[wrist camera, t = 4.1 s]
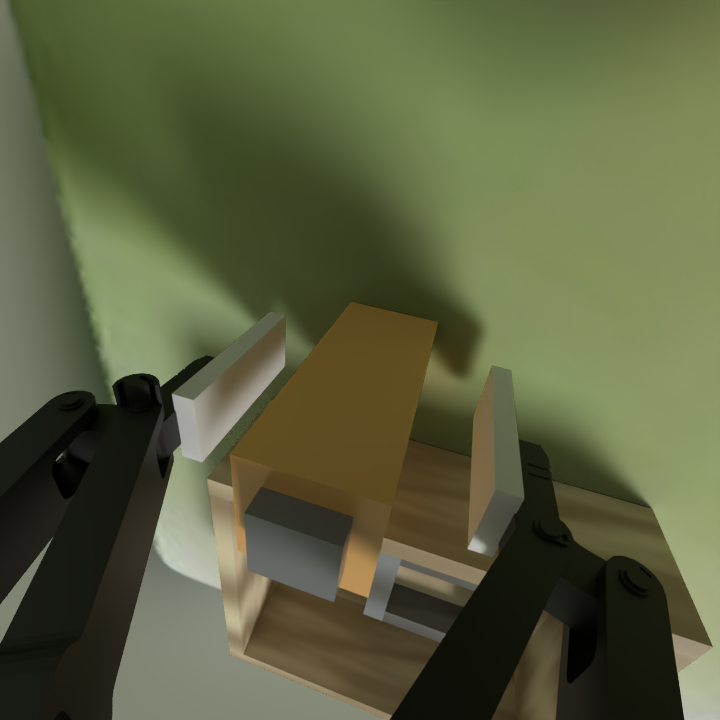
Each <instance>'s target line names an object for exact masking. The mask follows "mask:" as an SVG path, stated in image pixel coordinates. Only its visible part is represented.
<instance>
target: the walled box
mask: <svg viewBox="0 0 720 720" xmlns="http://www.w3.org/2000/svg"><path fill="white" fill-rule="evenodd" d="M272 401H273V400H270V401H269V402H268V403H267V405H266V406H265V407H264V408H263V410H262V411H261V412H260V413H259V415H258V416H257V417H256V418H255V420H254V421H253V422H252V423H251V424H250V426H249V427H248V428H247V429H246V431H245V432H244V433H243V434H242V436H241V437H240V438H239V439H238V441H237V442H236V443H235V444H234V446H233V447H232V448H231V449H230V451H229V452H228V453H227V454H226V456H225V457H224V458H223V459H222V461H221V462H220V463H219V464H218V466H217V467H216V468H215V469H214V470H213V472H212V473H211V474H210V475H209V477H208V478H207V483H208V491H209V498H210V506H211V513H212V520H213V528H214V535H215V543H216V550H217V558H218V565H219V573H220V580H221V587H222V595H223V602H224V610H225V617H226V625H227V632H228V639H229V647H230V654H231V656H234V657H236V658H238V659H241V660H243V661H246V662H248V663H250V664H253V665H255V666H258V667H260V668H263V669H265V670H267V671H270V672H272V673H275V674H277V675H280V676H282V677H284V678H287V679H289V680H292V681H294V682H296V683H299V684H301V685H304V686H306V687H308V688H311V689H313V690H316V691H318V692H321V693H323V694H325V695H328V696H330V697H333V698H335V699H337V700H340V701H342V702H345V703H347V704H350V705H352V706H354V707H357V708H359V709H362V710H364V711H366V712H369V713H371V714H374V715H376V716H378V717H381V718H383V719H386V720H390V718H391V717H392V715H393V714H394V712H395V711H396V709H397V708H398V706H399V705H400V703H401V702H402V700H403V699H404V697H405V696H406V694H407V692H408V691H409V689H410V688H411V686H412V685H413V683H414V682H415V680H416V679H417V677H418V676H419V674H420V673H421V671H422V670H423V668H424V667H425V665H426V664H427V662H428V661H429V659H430V658H431V656H432V655H433V653H434V652H435V650H436V649H437V647H438V646H439V644H440V643H441V641H442V639H443V638H444V636H445V635H446V633H447V632H448V630H449V629H450V627H451V626H452V624H453V623H454V621H455V620H456V618H457V617H458V615H459V614H460V612H461V611H462V609H463V608H464V606H465V605H466V603H467V602H468V600H469V599H470V597H471V596H472V594H473V593H474V591H475V590H476V588H477V586H478V585H479V583H480V582H481V580H482V579H483V577H484V576H485V574H486V573H487V571H488V570H489V568H490V567H491V565H492V564H493V562H494V561H495V559H496V558H497V556H498V555H499V547H498V549H497V550H496V552H495V554H494V556H493V557H491V556H487V555H484V554H481V553H478V552H475V551H472V550H469V549H468V527H469V505H470V483H471V461H472V457H469V456H465V455H462V454H458V453H455V452H451V451H448V450H444V449H441V448H437V447H434V446H430V445H427V444H423V443H420V442H416V441H413V440H409V441H408V445H407V449H406V453H405V457H404V461H403V465H402V469H401V473H400V477H399V481H398V485H397V489H396V493H395V497H394V501H393V505H392V509H391V512H390V516H389V520H388V524H387V528H386V532H385V535H384V539H383V543H382V547H381V551H380V555H379V559H378V562H377V566H376V570H375V574H374V578H373V582H372V585H371V589H370V593H369V597H368V598H367V597H364V596H362V595H359V594H356V593H353V592H351V591H348V590H345V589H342V588H340V587H339V588H338V592H337V595H336V598H335V601H334V602H332V601H329V600H326V599H323V598H321V597H318V596H315V595H313V594H310V593H307V592H304V591H302V590H299V589H296V588H294V587H291V586H288V585H286V584H283V583H280V582H277V581H275V580H272V579H269V578H267V577H264V576H261V575H259V574H256V573H253V572H250V571H248V569H247V554H246V553H243V552H240V551H238V547H237V535H236V523H235V511H234V499H233V487H232V475H231V462H230V454H231V452H232V451H233V450H234V448H235V447H236V446H237V445H238V443H239V442H240V441H241V440H242V438H243V437H244V436H245V435H246V433H247V432H248V431H249V430H250V428H251V427H252V426H253V425H254V423H255V422H256V421H257V420H258V418H259V417H260V416H261V415H262V413H263V412H264V411H265V409H266V408H267V407H268V406H269V404H270V403H271V402H272ZM552 482H553V486H554V491H555V497H556V502H557V507H558V513H559V518H560V520H561V521H563V522H564V523H565V524H566V526H567V527H568V528H569V530H570V531H571V533H572V536H573V539H574V540H575V541H576V542H577V543H578V544H579V545H581V546H582V547H584V548H585V549H587V550H589V551H590V552H592V553H594V554H595V555H597V556H599V557H601V558H602V559H604V560H606V561H607V560H608V559H610V558H611V557H613V556H626V557H629V558H632V559H634V560H636V561H638V562H639V563H641V564H643V565H644V566H646V567H647V568H648V569H649V570H650V571H651V572H652V573H653V574H654V575H655V576H656V577H657V579H658V580H659V581H660V583H661V584H662V586H663V588H664V591H665V594H666V597H667V604H668V611H669V618H670V625H671V632H672V639H673V646H674V652H675V659H676V666H677V673H678V672H679V671H681V670H682V669H684V668H685V667H686V666H688V665H689V664H691V663H692V662H693V661H695V660H696V659H697V658H699V657H700V656H702V655H703V654H704V653H706V652H707V651H708V650H710V649H711V648H713V646H712V644H711V641H710V639H709V637H708V635H707V632H706V630H705V628H704V625H703V623H702V621H701V619H700V616H699V614H698V612H697V610H696V607H695V605H694V603H693V600H692V598H691V596H690V594H689V591H688V589H687V587H686V585H685V582H684V580H683V578H682V575H681V573H680V571H679V569H678V566H677V564H676V562H675V559H674V557H673V555H672V553H671V550H670V548H669V546H668V544H667V541H666V539H665V537H664V534H663V532H662V530H661V528H660V525H659V523H658V521H657V519H656V516H655V514H654V512H653V509H651V508H647V507H644V506H640V505H637V504H633V503H630V502H626V501H623V500H619V499H616V498H612V497H609V496H605V495H602V494H598V493H595V492H591V491H588V490H584V489H581V488H577V487H574V486H570V485H567V484H563V483H560V482H556V481H553V480H552ZM562 633H563V623H562V622H561V621H559V620H558V619H556V618H555V617H553V616H552V615H551V614H549V613H548V612H546V611H545V610H543V612H542V614H541V616H540V619H539V621H538V623H537V625H536V627H535V629H534V631H533V633H532V635H531V638H530V640H529V642H528V644H527V646H526V648H525V650H524V652H523V654H522V656H521V659H520V661H519V663H518V665H517V667H516V669H515V671H514V673H513V675H512V678H511V680H510V682H509V684H508V686H507V688H506V690H505V692H504V694H503V697H502V699H501V701H500V703H499V705H498V707H497V709H496V711H495V713H494V715H493V718H492V720H556V707H557V695H558V683H559V670H560V658H561V646H562Z"/></svg>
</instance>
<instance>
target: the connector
mask: <svg viewBox="0 0 720 720" xmlns="http://www.w3.org/2000/svg"><path fill="white" fill-rule="evenodd" d="M437 326H438V322H437V321H432V320H428V319H424V318H419V317H415V316H411V315H406V314H402V313H398V312H393V311H389V310H385V309H380V308H376V307H372V306H367V305H363V304H359V303H354V302H351V303H350V304H349V305H348V306H347V308H346V309H345V310H344V311H343V313H342V314H341V315H340V316H339V318H338V319H337V320H336V321H335V323H334V324H333V325H332V326H331V328H330V329H329V330H328V331H327V333H326V334H325V335H324V336H323V338H322V339H321V340H320V342H319V343H318V344H317V345H316V347H315V348H314V349H313V350H312V352H311V353H310V354H309V355H308V357H307V358H306V359H305V360H304V362H303V363H302V364H301V365H300V367H299V368H298V369H297V370H296V372H295V373H294V374H293V375H292V377H291V378H290V379H289V381H288V382H287V383H286V384H285V386H284V387H283V388H282V389H281V391H280V392H279V393H278V394H277V396H276V397H275V398H274V399H273V401H272V402H271V403H270V404H269V406H268V407H267V408H266V409H265V411H264V412H263V413H262V415H261V416H260V417H259V418H258V420H257V421H256V422H255V423H254V425H253V426H252V427H251V428H250V430H249V431H248V432H247V433H246V435H245V436H244V437H243V438H242V440H241V441H240V442H239V443H238V445H237V446H236V447H235V448H234V450H233V451H232V452H231V454H230V462H231V475H232V487H233V499H234V511H235V523H236V535H237V547H238V551H240V552H243V553H246V554H247V569H248V571H250V572H253V573H256V574H259V575H261V576H264V577H267V578H269V579H272V580H275V581H277V582H280V583H283V584H286V585H288V586H291V587H294V588H296V589H299V590H302V591H304V592H307V593H310V594H313V595H315V596H318V597H321V598H323V599H326V600H329V601H332V602H334V601H335V598H336V595H337V592H338V588H339V587H340V588H342V589H345V590H348V591H351V592H353V593H356V594H359V595H362V596H364V597H367V598H368V597H369V593H370V589H371V585H372V582H373V578H374V574H375V570H376V566H377V562H378V559H379V555H380V551H381V547H382V543H383V539H384V535H385V532H386V528H387V524H388V520H389V516H390V512H391V509H392V505H393V501H394V497H395V493H396V489H397V485H398V481H399V477H400V473H401V469H402V465H403V461H404V457H405V453H406V449H407V445H408V441H409V437H410V433H411V429H412V425H413V421H414V417H415V413H416V409H417V405H418V401H419V397H420V393H421V389H422V385H423V381H424V377H425V373H426V369H427V365H428V361H429V357H430V354H431V350H432V346H433V342H434V338H435V334H436V330H437Z"/></svg>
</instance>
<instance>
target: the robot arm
mask: <svg viewBox="0 0 720 720" xmlns="http://www.w3.org/2000/svg"><path fill="white" fill-rule="evenodd" d="M285 339H286V315H283V314H279V313H275V312H269V313H268V314H267V315H266V316H264V317H263V318H262V319H261V320H260V321H258V322H257V323H256V324H255V325H254V326H252V327H251V328H250V329H249V330H248V331H246V332H245V333H244V334H243V335H242V336H240V337H239V338H238V339H237V340H236V341H234V342H233V343H232V344H231V345H230V346H228V347H227V348H226V349H225V350H224V351H222V352H221V353H220V354H219V355H218V356H216V357H211V356H205V357H202V358H200V359H197V360H195V361H193V362H192V363H191V364H189V365H188V366H187V367H186V368H185V369H183V370H182V371H181V372H179V373H178V375H175V376H174V377H173V378H172V379H170V380H169V381H168V382H167V383H165V384H164V385H163V386H161V387H160V384H159V380H158V379H157V378H156V377H155V376H153V375H150V374H143V373H140V374H132V375H129V376H125V377H123V378H121V379H119V380H118V381H116V382H115V383H114V384H113V386H112V387H113V391H114V395H115V398H116V402H117V405H110V404H97V403H96V399H95V396H94V395H93V394H92V393H90V392H87V391H71V392H66V393H63V394H61V395H58V396H56V397H54V398H53V399H51V400H50V401H49V402H47V403H46V404H45V405H44V406H43V407H42V408H40V409H39V410H38V411H37V412H36V413H35V414H33V415H32V416H31V417H30V418H29V419H28V420H26V421H25V422H24V423H23V424H22V425H21V426H19V427H18V428H17V429H16V430H15V431H14V432H12V433H11V434H10V435H9V436H8V437H7V438H5V439H4V440H3V441H2V442H1V443H0V604H1V603H2V601H3V600H4V599H5V597H6V596H7V595H8V593H9V592H10V591H11V590H12V588H13V587H14V586H15V585H16V583H17V582H18V581H19V579H20V578H21V577H22V576H23V574H24V573H25V572H26V570H27V569H28V568H29V567H30V565H31V564H32V563H33V562H34V560H35V559H36V558H37V556H38V555H39V554H40V552H41V551H42V550H43V549H44V548H45V546H46V545H47V543H48V542H49V541H50V540H51V539H52V537H53V536H54V537H53V539H52V541H51V543H50V545H49V547H48V549H47V551H46V553H45V555H44V557H43V559H42V561H41V563H40V565H39V567H38V569H37V571H36V573H35V575H34V577H33V579H32V581H31V583H30V585H29V587H28V589H27V591H26V593H25V595H24V597H23V599H22V601H21V604H20V606H19V608H18V610H17V612H16V614H15V616H14V618H13V620H12V622H11V624H10V626H9V628H8V630H7V632H6V634H5V636H4V638H3V640H2V641H1V643H0V720H112V697H113V690H114V685H115V681H116V677H117V673H118V669H119V666H120V662H121V658H122V655H123V650H124V647H125V643H126V639H127V636H128V632H129V628H130V624H131V621H132V617H133V613H134V609H135V605H136V602H137V598H138V594H139V590H140V586H141V583H142V579H143V575H144V572H145V567H146V564H147V560H148V556H149V553H150V549H151V545H152V541H153V538H154V534H155V530H156V526H157V522H158V519H159V515H160V511H161V507H162V504H163V500H164V496H165V492H166V488H167V485H168V481H169V477H170V473H171V470H172V466H173V462H174V456H173V451H174V450H175V449H176V448H177V447H178V446H179V445H180V444H181V449H182V455H183V456H184V457H187V458H190V459H193V460H196V461H199V462H203V461H204V460H205V459H206V457H207V456H208V455H209V454H210V453H211V452H212V450H213V449H214V448H215V447H216V446H217V445H218V444H219V442H220V441H221V440H222V439H223V438H224V437H225V435H226V434H227V433H228V432H229V431H230V430H231V428H232V427H233V426H234V425H235V424H236V423H237V421H238V420H239V419H240V418H241V417H242V416H243V414H244V413H245V412H246V411H247V410H248V409H249V407H250V406H251V405H252V404H253V403H254V402H255V400H256V399H257V398H258V397H259V396H260V395H261V393H262V392H263V391H264V390H265V389H266V388H267V386H268V385H269V384H270V383H271V382H272V381H273V379H274V378H275V377H276V376H277V375H278V374H279V372H280V371H281V370H282V369H283V368H284V367H285ZM61 453H62V454H63V455H62V456H61V458H60V459H59V460H57V461H55V460H56V459H57V458H58V456H59V455H60V454H61ZM498 547H499V555H498V556H497V558H496V559H495V561H494V562H493V564H492V565H491V567H490V568H489V570H488V571H487V573H486V574H485V576H484V577H483V579H482V580H481V582H480V583H479V585H478V586H477V588H476V590H475V591H474V593H473V594H472V596H471V597H470V599H469V600H468V602H467V603H466V605H465V606H464V608H463V609H462V611H461V612H460V614H459V615H458V617H457V618H456V620H455V621H454V623H453V624H452V626H451V627H450V629H449V630H448V632H447V633H446V635H445V636H444V638H443V639H442V641H441V643H440V644H439V646H438V647H437V649H436V650H435V652H434V653H433V655H432V656H431V658H430V659H429V661H428V662H427V664H426V665H425V667H424V668H423V670H422V671H421V673H420V674H419V676H418V677H417V679H416V680H415V682H414V683H413V685H412V686H411V688H410V689H409V691H408V692H407V694H406V696H405V697H404V699H403V700H402V702H401V703H400V705H399V706H398V708H397V709H396V711H395V712H394V714H393V715H392V717H391V718H390V720H492V718H493V715H494V713H495V711H496V709H497V707H498V705H499V703H500V701H501V699H502V697H503V694H504V692H505V690H506V688H507V686H508V684H509V682H510V680H511V678H512V675H513V673H514V671H515V669H516V667H517V665H518V663H519V661H520V659H521V656H522V654H523V652H524V650H525V648H526V646H527V644H528V642H529V640H530V638H531V635H532V633H533V631H534V629H535V627H536V625H537V623H538V621H539V619H540V616H541V614H542V612H543V610H545V611H546V612H548V613H549V614H551V615H552V616H553V617H555V618H556V619H558V620H559V621H561V622H562V623H563V633H562V646H561V658H560V670H559V683H558V695H557V707H556V720H684V715H683V708H682V701H681V694H680V687H679V680H678V673H677V666H676V659H675V652H674V646H673V639H672V632H671V625H670V618H669V611H668V604H667V597H666V594H665V591H664V588H663V586H662V584H661V583H660V581H659V580H658V579H657V577H656V576H655V575H654V574H653V573H652V572H651V571H650V570H649V569H648V568H647V567H646V566H644V565H643V564H641V563H639V562H638V561H636V560H634V559H632V558H629V557H626V556H613V557H611V558H610V559H608V560H607V561H606V560H604V559H602V558H601V557H599V556H597V555H595V554H594V553H592V552H590V551H589V550H587V549H585V548H584V547H582V546H581V545H579V544H578V543H577V542H576V541H575V540H574V539H573V536H572V533H571V531H570V530H569V528H568V527H567V526H566V524H565V523H564V522H563V521H561V520H560V518H559V513H558V507H557V502H556V497H555V491H554V486H553V482H552V476H551V472H550V465H549V460H548V457H547V455H546V454H545V452H544V451H543V449H542V448H541V446H540V445H537V444H533V443H530V442H526V441H522V440H519V439H518V431H517V422H516V412H515V402H514V393H513V383H512V373H511V370H508V369H504V368H500V367H496V366H492V367H491V370H490V373H489V376H488V378H487V381H486V384H485V386H484V389H483V392H482V395H481V397H480V400H479V403H478V406H477V408H476V411H475V414H474V417H473V438H472V461H471V483H470V505H469V527H468V549H469V550H472V551H475V552H478V553H481V554H484V555H487V556H491V557H493V556H494V554H495V552H496V550H497V549H498Z"/></svg>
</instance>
